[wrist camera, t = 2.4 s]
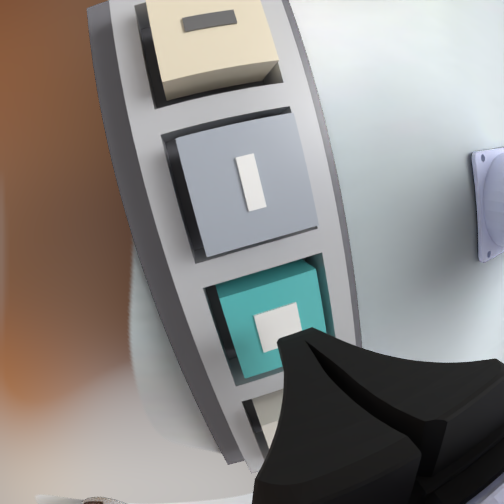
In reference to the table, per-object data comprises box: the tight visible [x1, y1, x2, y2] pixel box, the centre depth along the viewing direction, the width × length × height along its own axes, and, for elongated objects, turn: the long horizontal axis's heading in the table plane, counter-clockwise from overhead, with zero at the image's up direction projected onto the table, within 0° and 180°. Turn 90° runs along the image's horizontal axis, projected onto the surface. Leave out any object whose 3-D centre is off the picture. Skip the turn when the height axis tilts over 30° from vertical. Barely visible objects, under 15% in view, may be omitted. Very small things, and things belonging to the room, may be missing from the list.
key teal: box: [215, 259, 327, 378], centre depth 14 cm, size 4×4×3 cm
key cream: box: [252, 389, 283, 449], centre depth 15 cm, size 4×4×3 cm
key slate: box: [175, 113, 319, 257], centre depth 11 cm, size 4×4×3 cm
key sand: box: [146, 0, 279, 101], centre depth 10 cm, size 4×4×3 cm
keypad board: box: [87, 0, 362, 473], centre depth 14 cm, size 10×28×3 cm, turn 14°
